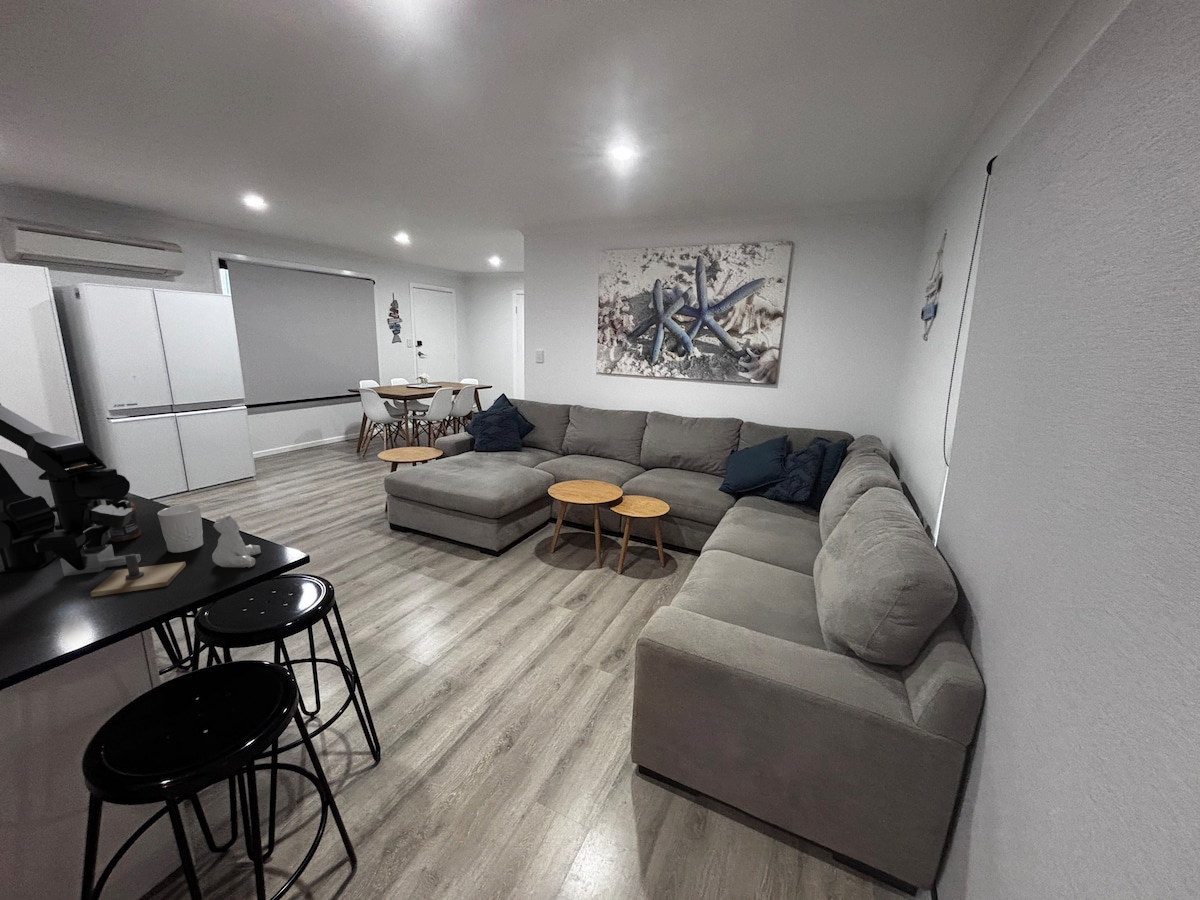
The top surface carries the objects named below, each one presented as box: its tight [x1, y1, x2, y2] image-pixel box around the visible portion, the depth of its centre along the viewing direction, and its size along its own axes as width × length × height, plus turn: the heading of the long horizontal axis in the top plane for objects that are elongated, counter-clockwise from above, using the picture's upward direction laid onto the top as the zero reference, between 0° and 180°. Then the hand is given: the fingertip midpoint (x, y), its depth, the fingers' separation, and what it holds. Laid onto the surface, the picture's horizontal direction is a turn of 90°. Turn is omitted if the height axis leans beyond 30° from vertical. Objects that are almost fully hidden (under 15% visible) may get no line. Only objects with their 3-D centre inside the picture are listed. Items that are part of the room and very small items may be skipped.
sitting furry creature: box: [211, 513, 261, 568], centre depth 108 cm, size 10×9×12 cm
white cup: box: [156, 504, 204, 553], centre depth 116 cm, size 8×8×10 cm
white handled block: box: [59, 543, 142, 577], centre depth 106 cm, size 12×6×4 cm, turn 114°
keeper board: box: [90, 553, 187, 598], centre depth 100 cm, size 12×10×6 cm
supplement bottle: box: [105, 494, 142, 543], centre depth 120 cm, size 6×6×11 cm
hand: (89, 563), depth 105 cm, fingers closed on white handled block, 6 cm apart
